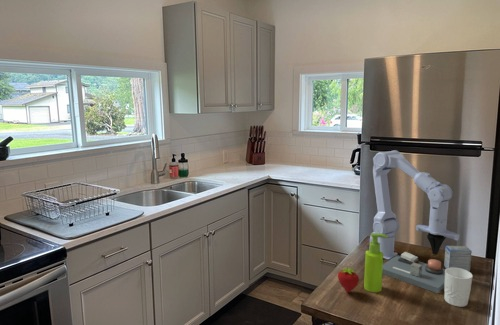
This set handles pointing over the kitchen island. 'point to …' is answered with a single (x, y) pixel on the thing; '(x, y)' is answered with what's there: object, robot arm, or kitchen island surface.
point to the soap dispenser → (374, 265)
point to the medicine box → (457, 257)
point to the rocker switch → (409, 257)
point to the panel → (426, 280)
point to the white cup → (457, 286)
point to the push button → (434, 264)
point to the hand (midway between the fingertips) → (435, 253)
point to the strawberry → (348, 279)
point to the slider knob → (416, 269)
